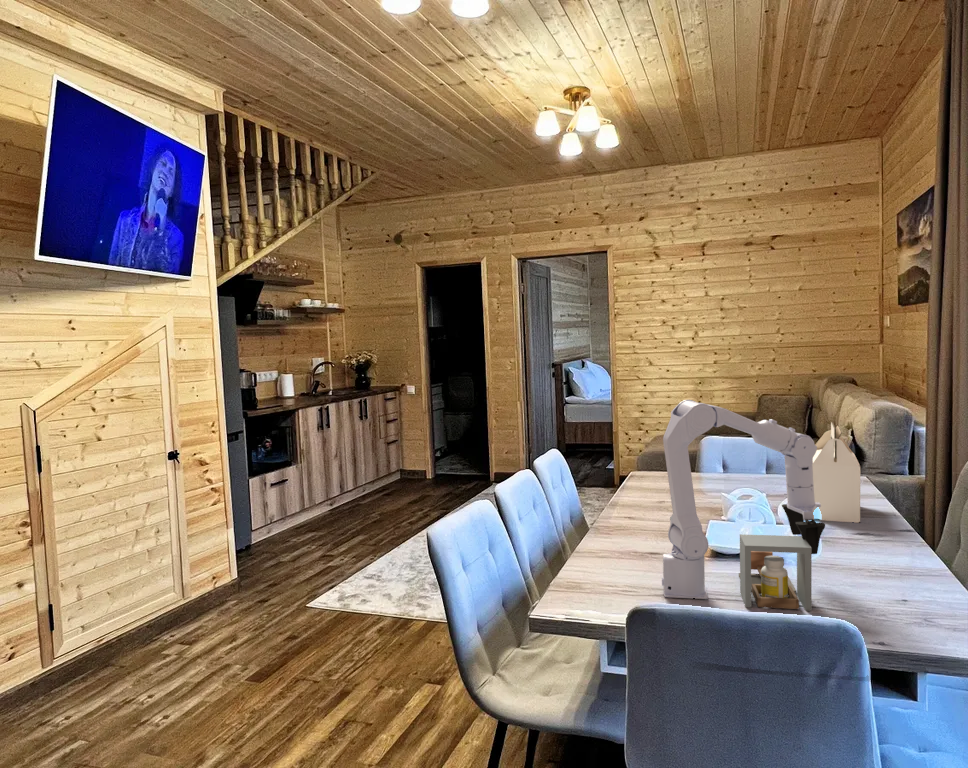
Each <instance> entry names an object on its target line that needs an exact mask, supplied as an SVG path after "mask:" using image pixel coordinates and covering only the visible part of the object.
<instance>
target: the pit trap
mask: <svg viewBox="0 0 968 768" xmlns="http://www.w3.org/2000/svg"><path fill="white" fill-rule="evenodd" d="M738 578H739V579H740V572H738ZM752 584H761V576H760V574H759V573H751V593H752ZM788 585H789V586H791V587H792V589H793V591H794V592H795V594H796V595H797V588H795V586H794V583H793V582H792V581H791V579H790V577H789V576H788Z"/></svg>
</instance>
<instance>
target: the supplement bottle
mask: <svg viewBox="0 0 968 768" xmlns="http://www.w3.org/2000/svg"><path fill="white" fill-rule="evenodd" d="M764 564H765V565H766V566H764V567H762V569H761V595H760V596H761V597H771V598H789V595H788V577H789V575H788V574H789V573H788V570H787V569H786V568H785V559H784V557H782V556H778V555H773V556H766V557H764Z"/></svg>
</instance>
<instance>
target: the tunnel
mask: <svg viewBox="0 0 968 768" xmlns="http://www.w3.org/2000/svg"><path fill="white" fill-rule="evenodd" d="M751 551H759V552H773V553H791V554H794V553H795V554H796V591H797V594H796V596H797V598H798V599H799V603H801V605H802V607H803V609H804V610H806V612H812V611H813V610H812V601H813V600H812V585H813V584H812V581H813V580H812V574H813V573H812V571H813V570H812V565H813V564H812V557H813V556H812V555H813V554H812V548H811V546H810V545H809V544H808V542H807V541H806V540H803V538H802V535H772V534H771V535H770V534H743V533H742V534H739V573H740V578H739V586H740V587H739V590H740V592H739V594H740V593H741V594H740V596H742V597H741V599H742V602H743V604H745V605H744V608H746V607H751V608H752V592H751V574H752V569H751Z"/></svg>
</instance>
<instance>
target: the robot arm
mask: <svg viewBox="0 0 968 768" xmlns="http://www.w3.org/2000/svg"><path fill="white" fill-rule="evenodd" d="M722 426H726V427H729V428H732V429H734V430H737V431H741V432H744V433H747V434H749V435H751V437H752V440H753V441H754V443H756V444H758V445H761V446H762V447H763V446H764V447H765V448H768V449H770V450H773V451H775V452H777V453H780V454H782V455H783V456H784V468H785V483H786V499H787V500H786V501H787V502H786V504H785V503H784V504H781V507H782V510H784V512H785V515H786V517H787V520H788V524H789V528H790V532H791V534H792V536H802V538H803V540H806V541H807V542H808V544H809V545H810V546H811V548H812V555H817V554H818V551H819V546H820V541H821V540H820V539H821V536H822V534H823V532H824V530H825V527H826V524H825V522H817V520H814V515H813V512H814V510H815V509H816V508H817V507H821V504H820V503H818V502H815V496H814V481H813V466H812V464H813V456H814V455H815V453H816V451H817V446H816V443H815V441H814V439H812V437H811V436H810V435H807V434H803V433H799V432H796V429H795V428H793V427H785V426H783V425H780V424H778V421H777V420H775V419H772V418H769V419H768V420H767V419H762V420H759V421H754V420H752V419H750V418H747V417H745V416H743V415H741V414H738V413H736V412H734V411H731V410H730V409H727V408H724V407H721V406H717V405H713V404H708V403H704V402H698V401H695V400H692V399H684V400H682V401H680V402H679V403H678V404H677V405H676V406H675V407H674V408H673V409H672V410H671V411H670V418H669V422H668V424H667V427H666V430H665V432H664V434H663V437H662V438H663V439H662V444H663V449H664V457H665V464H666V471H667V479H668V485H669V486H668V487H669V495H670V501H671V509H672V514H671V515H670V518H669V521H670V523H669V529H668V530H667V531H668V533H667V537H668V540H669V542H670V544H672V548H671V552H670V553H669V552H668V553H662V577H661V586H663V597H665V598H676V599H693V598H695V600H696V599H697V600H698V599H699V600H708V599H709V595H708V592H707V587H706V583H705V582H706V581H705V579H706V578H705V555H706V553H707V552H708V549H709V540H708V537H707V536H706V534H705V533H704V531H703V526H702V523H701V521H700V518H699V516H698V514H697V507H696V506H697V505H696V499H695V492H694V490H695V489H694V484H693V476H692V470H691V462H690V456H689V455H690V454H689V445H690V444H692V443H693V441H694V440H695V439H696V438H698V437H699V436H701V435H703V434H705V433H707V432H708V431H710V430H711V429H712V428H713V427H715V428H719V427H722Z"/></svg>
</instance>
